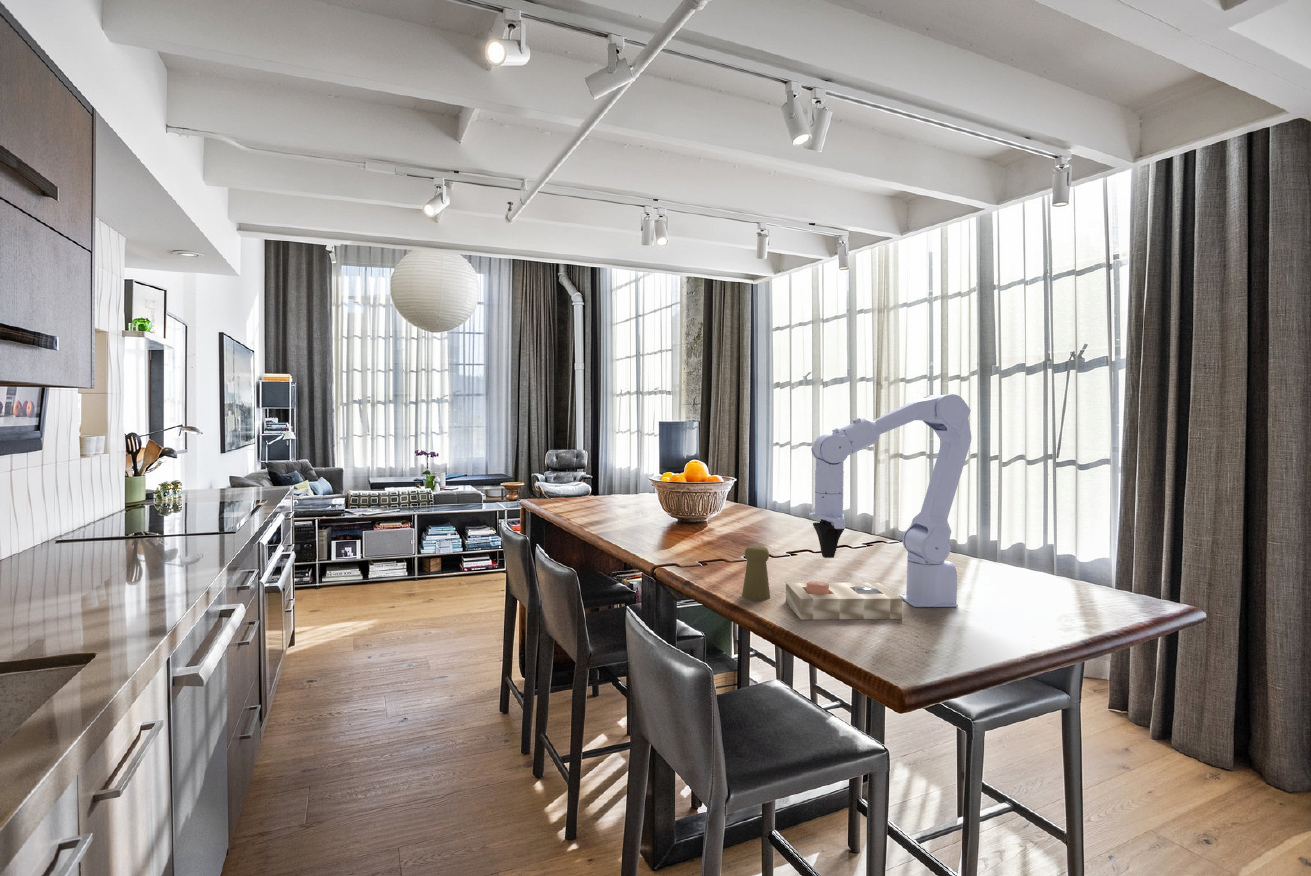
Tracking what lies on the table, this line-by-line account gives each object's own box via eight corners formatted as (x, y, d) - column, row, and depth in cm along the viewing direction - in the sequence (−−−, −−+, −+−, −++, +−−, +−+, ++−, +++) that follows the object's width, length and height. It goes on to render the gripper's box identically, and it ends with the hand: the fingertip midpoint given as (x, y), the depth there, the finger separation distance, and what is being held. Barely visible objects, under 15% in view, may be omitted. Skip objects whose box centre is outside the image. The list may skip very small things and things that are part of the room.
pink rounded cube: (824, 600, 139) (825, 581, 138) (831, 606, 134) (831, 586, 134) (803, 600, 138) (804, 581, 138) (809, 606, 134) (810, 587, 134)
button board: (878, 601, 143) (879, 582, 143) (902, 618, 131) (902, 598, 131) (785, 601, 142) (786, 582, 142) (800, 619, 130) (801, 599, 130)
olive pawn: (769, 601, 142) (770, 549, 142) (741, 599, 143) (741, 548, 143) (770, 593, 148) (771, 544, 148) (743, 591, 149) (743, 542, 149)
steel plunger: (872, 604, 139) (872, 585, 139) (880, 610, 135) (881, 590, 134) (851, 604, 139) (851, 585, 139) (858, 610, 134) (859, 590, 134)
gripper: (800, 488, 147) (799, 549, 147) (821, 497, 132) (820, 565, 133) (832, 488, 147) (831, 549, 148) (856, 497, 133) (854, 565, 133)
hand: (828, 557), depth 140 cm, fingers closed
